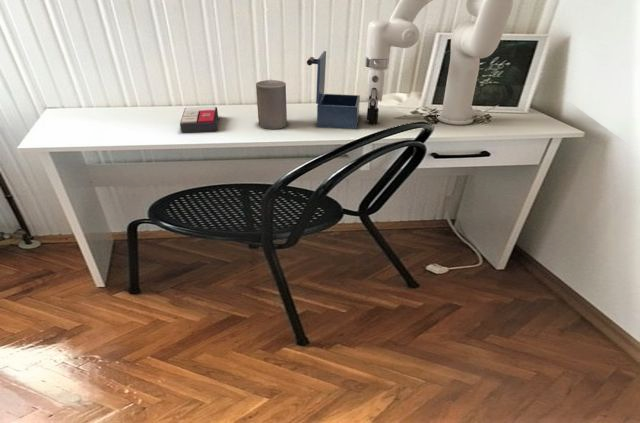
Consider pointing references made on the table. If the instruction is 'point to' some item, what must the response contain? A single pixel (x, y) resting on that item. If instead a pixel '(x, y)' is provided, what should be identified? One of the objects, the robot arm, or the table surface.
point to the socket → (376, 119)
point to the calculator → (199, 119)
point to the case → (338, 111)
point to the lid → (319, 74)
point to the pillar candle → (271, 104)
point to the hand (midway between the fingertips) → (371, 115)
